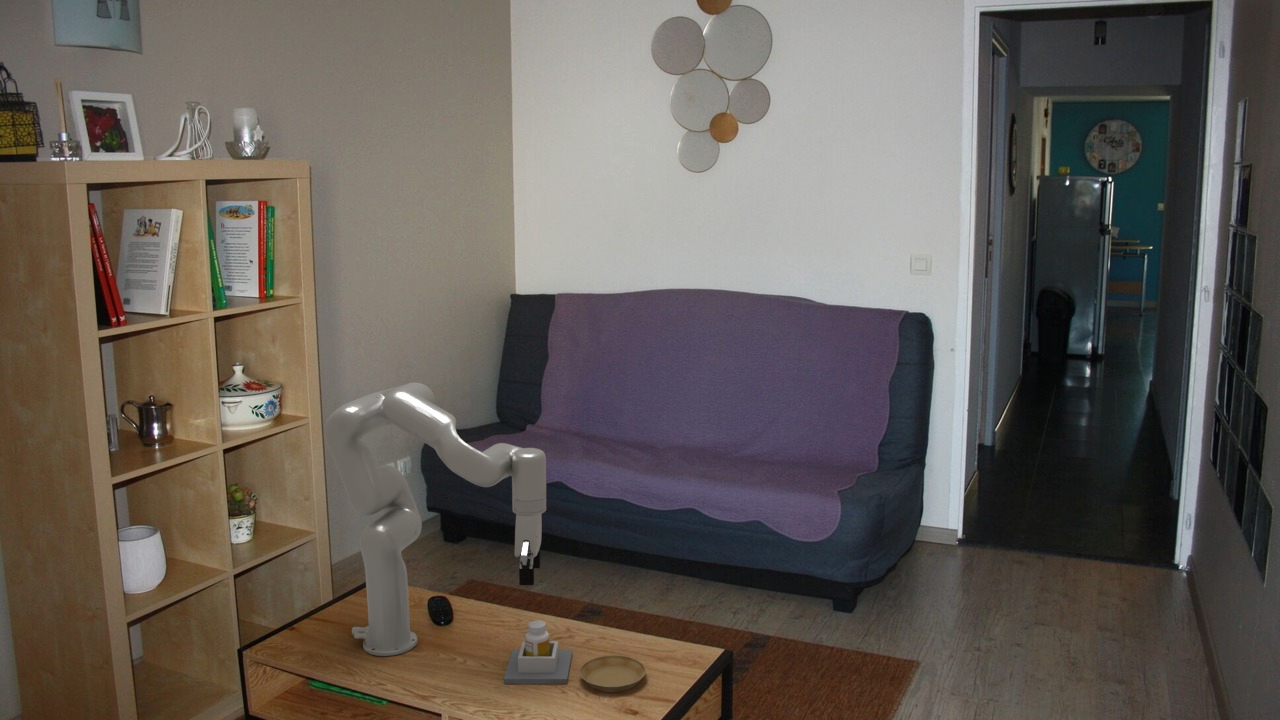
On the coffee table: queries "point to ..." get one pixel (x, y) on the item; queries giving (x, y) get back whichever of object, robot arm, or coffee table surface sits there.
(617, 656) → the plant saucer
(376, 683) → the coffee table surface
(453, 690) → the coffee table surface
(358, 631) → the robot arm
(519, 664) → the bottle holder
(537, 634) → the supplement bottle
